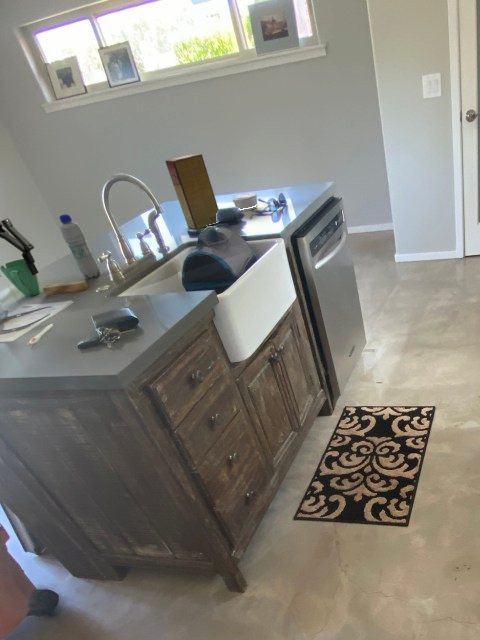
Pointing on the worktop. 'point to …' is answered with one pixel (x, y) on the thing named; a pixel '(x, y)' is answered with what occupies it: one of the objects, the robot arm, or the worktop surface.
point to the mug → (21, 277)
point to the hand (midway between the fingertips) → (16, 276)
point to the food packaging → (193, 190)
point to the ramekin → (245, 201)
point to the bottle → (79, 247)
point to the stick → (65, 287)
